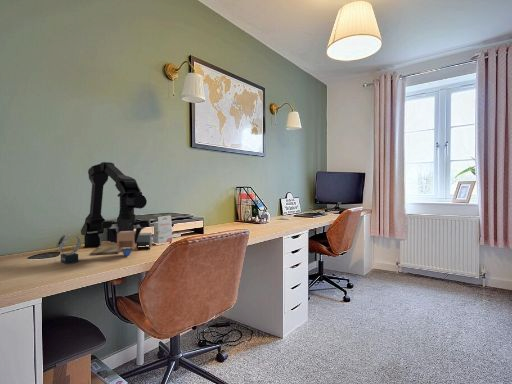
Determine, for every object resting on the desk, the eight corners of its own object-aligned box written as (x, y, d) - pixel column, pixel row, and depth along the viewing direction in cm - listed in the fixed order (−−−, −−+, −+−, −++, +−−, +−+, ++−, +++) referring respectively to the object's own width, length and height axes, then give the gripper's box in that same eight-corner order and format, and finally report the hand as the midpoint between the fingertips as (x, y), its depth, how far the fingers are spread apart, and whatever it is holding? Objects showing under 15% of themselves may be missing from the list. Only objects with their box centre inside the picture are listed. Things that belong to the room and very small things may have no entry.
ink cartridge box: (166, 242, 155) (166, 214, 155) (172, 243, 152) (172, 215, 152) (152, 244, 148) (152, 216, 148) (158, 245, 145) (157, 216, 145)
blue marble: (122, 256, 122) (122, 249, 122) (123, 255, 125) (123, 247, 125) (130, 256, 123) (130, 248, 123) (131, 254, 126) (131, 247, 126)
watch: (54, 262, 112) (54, 234, 112) (77, 258, 118) (77, 232, 118) (59, 265, 108) (59, 236, 108) (83, 261, 114) (83, 233, 114)
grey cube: (135, 250, 135) (135, 235, 135) (137, 247, 141) (137, 233, 141) (150, 249, 136) (150, 234, 136) (151, 246, 143) (151, 232, 143)
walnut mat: (90, 255, 124) (90, 252, 124) (97, 249, 135) (97, 247, 135) (117, 253, 127) (117, 251, 127) (122, 248, 138) (122, 246, 138)
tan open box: (116, 250, 120) (116, 233, 120) (120, 247, 126) (120, 231, 126) (133, 249, 121) (133, 233, 121) (136, 246, 128) (136, 230, 128)
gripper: (97, 209, 113) (97, 248, 114) (147, 208, 118) (147, 246, 118) (104, 207, 124) (105, 243, 124) (150, 206, 129) (150, 241, 129)
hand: (127, 243), depth 124 cm, fingers closed on tan open box, 7 cm apart
